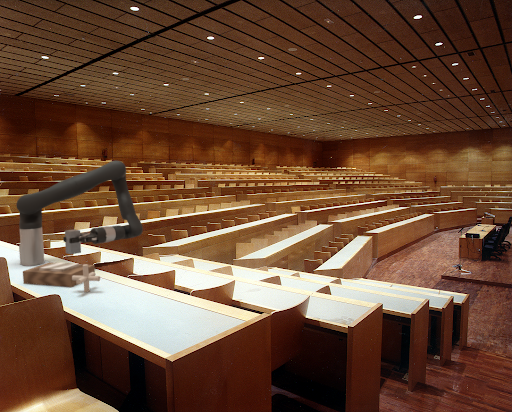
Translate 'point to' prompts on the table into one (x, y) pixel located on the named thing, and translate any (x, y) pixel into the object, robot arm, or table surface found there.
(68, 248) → the block
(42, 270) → the brown wooden block
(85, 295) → the table surface
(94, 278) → the pipe connector
